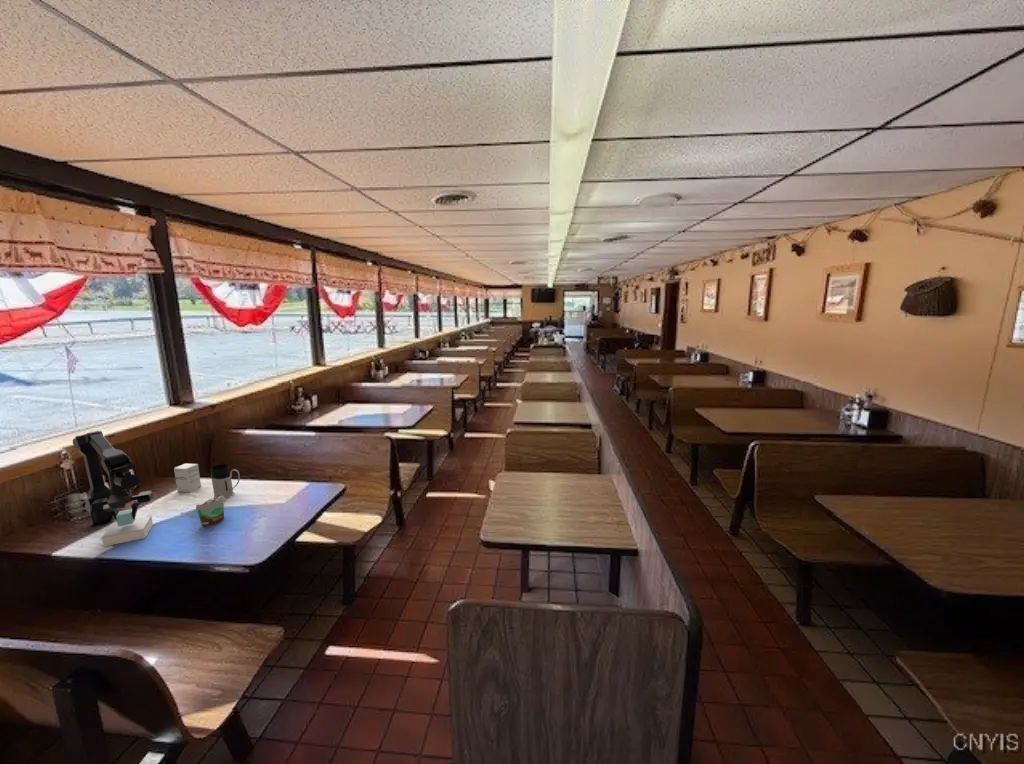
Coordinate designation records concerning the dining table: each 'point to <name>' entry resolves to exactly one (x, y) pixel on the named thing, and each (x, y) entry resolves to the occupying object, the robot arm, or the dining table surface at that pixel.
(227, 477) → the grey black mug
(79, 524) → the dining table surface
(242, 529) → the dining table surface
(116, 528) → the flat beige block
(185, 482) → the supplement box
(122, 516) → the teal block
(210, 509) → the food container
